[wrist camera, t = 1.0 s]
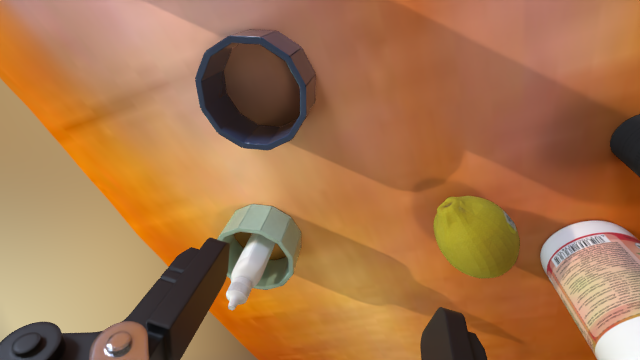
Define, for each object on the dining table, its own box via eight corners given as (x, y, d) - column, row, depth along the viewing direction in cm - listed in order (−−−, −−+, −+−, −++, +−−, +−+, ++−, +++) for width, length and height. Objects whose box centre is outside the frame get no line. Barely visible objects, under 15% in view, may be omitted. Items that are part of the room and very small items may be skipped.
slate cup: (206, 97, 35) (182, 112, 31) (242, 6, 30) (219, 9, 25) (286, 147, 36) (274, 167, 32) (335, 69, 31) (328, 81, 27)
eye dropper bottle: (240, 229, 44) (199, 300, 34) (272, 217, 42) (239, 288, 32) (258, 251, 46) (224, 325, 36) (289, 240, 44) (263, 315, 34)
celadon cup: (219, 239, 46) (202, 264, 42) (247, 191, 41) (231, 214, 36) (280, 272, 47) (270, 300, 43) (315, 230, 42) (308, 257, 38)
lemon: (514, 234, 38) (544, 287, 31) (449, 253, 41) (464, 305, 34) (485, 162, 34) (512, 205, 27) (415, 189, 37) (423, 234, 30)
